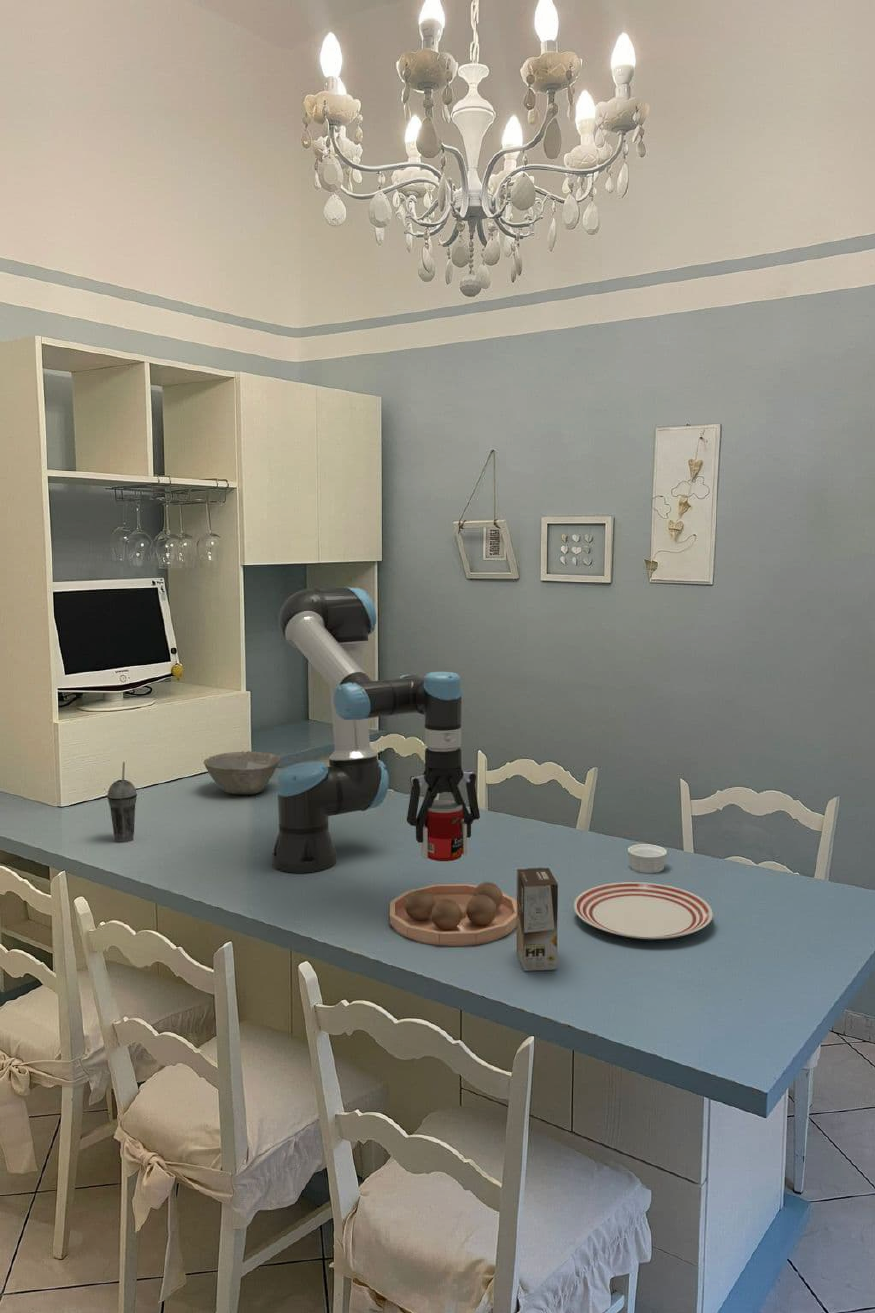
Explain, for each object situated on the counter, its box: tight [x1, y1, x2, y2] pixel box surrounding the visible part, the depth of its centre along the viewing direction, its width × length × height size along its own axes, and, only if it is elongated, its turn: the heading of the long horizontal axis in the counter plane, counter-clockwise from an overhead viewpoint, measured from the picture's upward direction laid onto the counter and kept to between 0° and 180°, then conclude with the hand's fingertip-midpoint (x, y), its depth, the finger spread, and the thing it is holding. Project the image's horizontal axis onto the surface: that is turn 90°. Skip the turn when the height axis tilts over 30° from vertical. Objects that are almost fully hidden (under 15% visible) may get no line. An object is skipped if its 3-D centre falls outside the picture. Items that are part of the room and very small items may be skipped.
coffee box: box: [516, 867, 559, 972], centre depth 182 cm, size 9×6×16 cm
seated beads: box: [405, 881, 503, 931], centre depth 201 cm, size 18×18×6 cm
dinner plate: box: [573, 881, 714, 940], centre depth 201 cm, size 28×27×3 cm
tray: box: [389, 883, 517, 947], centre depth 202 cm, size 26×26×2 cm
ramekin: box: [627, 843, 668, 874], centre depth 232 cm, size 9×9×4 cm
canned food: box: [424, 799, 463, 862], centre depth 207 cm, size 8×8×11 cm
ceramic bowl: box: [203, 750, 281, 796], centre depth 298 cm, size 22×23×10 cm
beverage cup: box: [106, 761, 138, 843], centre depth 253 cm, size 7×7×20 cm
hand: (443, 854), depth 208 cm, fingers closed on canned food, 8 cm apart
